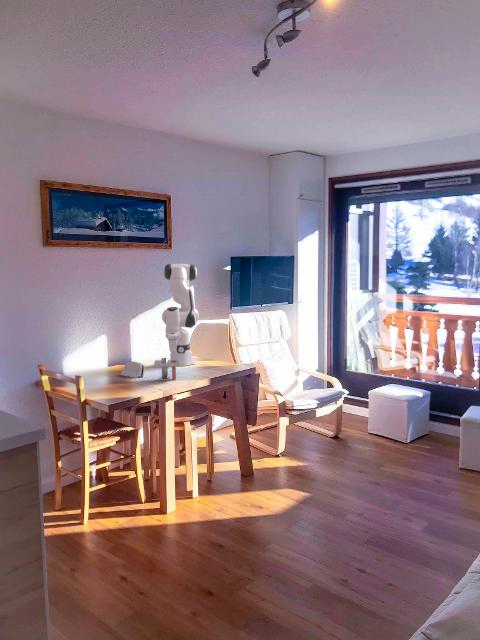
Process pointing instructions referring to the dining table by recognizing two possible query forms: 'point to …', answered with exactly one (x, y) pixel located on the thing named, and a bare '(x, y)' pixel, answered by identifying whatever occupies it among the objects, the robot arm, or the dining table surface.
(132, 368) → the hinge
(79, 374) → the dining table surface
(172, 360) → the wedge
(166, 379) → the grey t-bar
